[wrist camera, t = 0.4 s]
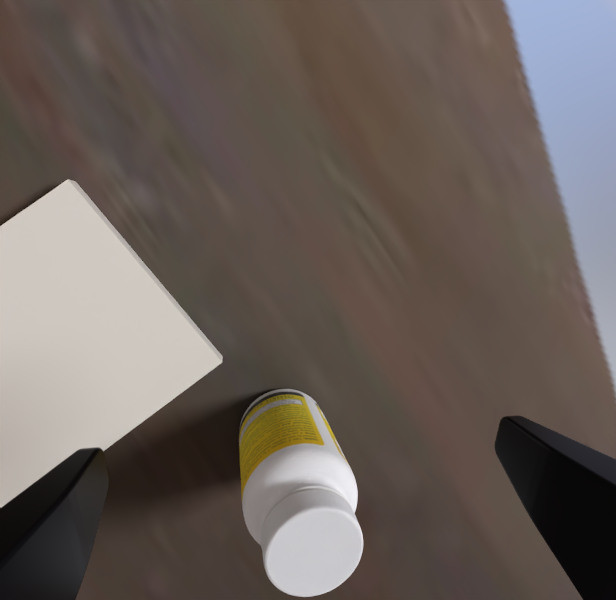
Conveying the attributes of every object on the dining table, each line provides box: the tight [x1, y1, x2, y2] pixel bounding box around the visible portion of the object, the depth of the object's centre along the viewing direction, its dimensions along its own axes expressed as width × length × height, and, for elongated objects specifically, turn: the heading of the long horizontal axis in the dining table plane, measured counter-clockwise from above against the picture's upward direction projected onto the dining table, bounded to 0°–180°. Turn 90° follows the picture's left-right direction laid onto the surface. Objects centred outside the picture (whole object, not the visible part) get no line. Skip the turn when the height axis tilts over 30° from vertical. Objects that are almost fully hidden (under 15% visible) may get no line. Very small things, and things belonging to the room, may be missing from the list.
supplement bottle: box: [239, 389, 363, 597], centre depth 19 cm, size 5×5×10 cm
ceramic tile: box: [0, 179, 223, 507], centre depth 20 cm, size 14×12×1 cm
